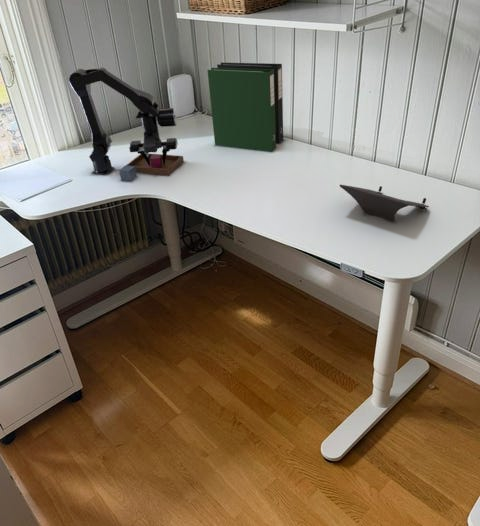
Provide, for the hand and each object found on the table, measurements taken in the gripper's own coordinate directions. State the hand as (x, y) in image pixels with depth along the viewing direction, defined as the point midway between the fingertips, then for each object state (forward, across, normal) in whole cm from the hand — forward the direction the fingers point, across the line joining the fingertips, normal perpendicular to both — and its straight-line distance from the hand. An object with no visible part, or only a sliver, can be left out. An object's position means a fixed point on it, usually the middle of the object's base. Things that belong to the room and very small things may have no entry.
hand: (157, 165), depth 199 cm
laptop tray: (+1, +81, -49) cm, 95 cm away
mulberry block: (0, 0, 0) cm, 0 cm away
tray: (+1, -1, 0) cm, 1 cm away
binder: (+1, +38, +20) cm, 43 cm away
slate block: (+1, -10, -10) cm, 14 cm away
